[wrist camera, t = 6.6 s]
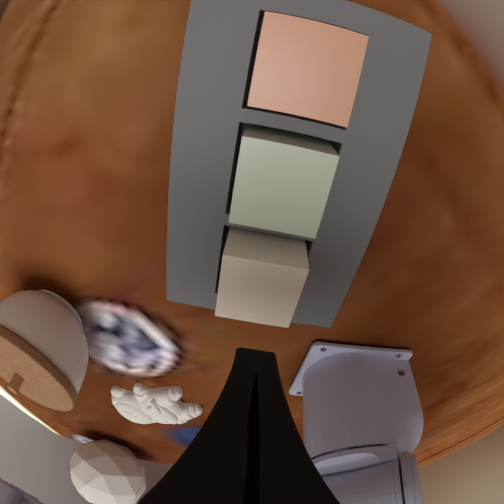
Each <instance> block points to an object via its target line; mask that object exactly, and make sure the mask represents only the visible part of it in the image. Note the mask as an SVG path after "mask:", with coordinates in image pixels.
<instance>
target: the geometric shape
mask: <svg viewBox="0 0 504 504" xmlns="http://www.w3.org/2000/svg"><path fill="white" fill-rule="evenodd" d="M70 472H71V478H72V482H73V484H74V486H75V487H76V489H77V491H78V492H79V493H80V494H81V495H82V496H83V497H84V498H85V499H86V500H87V501H88V502H91V503H93V504H135V503H136V502H137V500H138V499H139V498H140V496H141V495H142V493H143V492H144V490H145V489H146V483H145V476H144V467H143V465H142V464H141V463H140V462H139V460H138V459H137V458H136V457H135V456H134V454H133V453H132V452H131V451H130V450H129V448H128V447H126V446H123V445H120V444H117V443H114V442H112V441H109V440H107V439H101V440H97V441H92V442H88V443H83V444H82V445H81V446H80V447H79V448H78V449H77V450H76V451H75V452H74V454H73V456H72V458H71V466H70Z"/></svg>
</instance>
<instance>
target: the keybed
mask: <svg viewBox="0 0 504 504" xmlns="http://www.w3.org/2000/svg"><path fill="white" fill-rule="evenodd" d="M265 11H267V12H273V13H279V14H285V15H290V16H295V17H300V18H305V19H309V20H313V21H318V22H322V23H326V24H329V25H333V26H337V27H340V28H344V29H347V30H351V31H354V32H357V33H360V34H363V35H366V36H369V38H368V43H367V47H366V52H365V56H364V61H363V65H362V70H361V74H360V79H359V83H358V87H357V91H356V95H355V99H354V103H353V107H352V111H351V115H350V119H349V123H348V127H343V126H339V125H335V124H331V123H328V122H324V121H319V120H315V119H311V118H307V117H302V116H298V115H293V114H288V113H283V112H278V111H273V110H268V109H262V108H256V107H251V106H247V104H248V99H249V93H250V87H251V82H252V76H253V71H254V65H255V60H256V55H257V49H258V44H259V39H260V34H261V29H262V24H263V19H264V14H265ZM431 36H432V34H431V33H429V32H427V31H425V30H423V29H421V28H419V27H417V26H414V25H412V24H410V23H407V22H405V21H403V20H400V19H398V18H395V17H393V16H390V15H388V14H385V13H382V12H380V11H377V10H374V9H371V8H368V7H365V6H362V5H359V4H356V3H353V2H350V1H346V0H191V5H190V10H189V16H188V21H187V27H186V33H185V39H184V45H183V51H182V58H181V65H180V72H179V80H178V87H177V96H176V105H175V114H174V124H173V135H172V147H171V160H170V175H169V193H168V218H167V300H169V301H174V302H179V303H183V304H188V305H193V306H199V307H204V308H209V309H214V310H216V302H217V294H218V286H219V279H220V271H221V264H222V257H223V252H224V248H225V244H226V241H227V237H228V233H229V230H230V226H233V227H238V228H244V229H249V230H255V231H260V232H266V233H271V234H277V235H282V236H287V237H293V238H298V239H303V240H305V242H306V250H307V257H308V265H309V272H308V275H307V278H306V281H305V283H304V286H303V289H302V292H301V295H300V298H299V300H298V303H297V306H296V309H295V311H294V314H293V317H292V320H291V322H292V323H299V324H306V325H313V326H320V327H328V328H331V326H332V324H333V322H334V320H335V318H336V316H337V313H338V311H339V309H340V307H341V305H342V303H343V301H344V299H345V297H346V294H347V292H348V290H349V288H350V286H351V283H352V281H353V279H354V277H355V275H356V272H357V270H358V268H359V265H360V263H361V261H362V258H363V256H364V254H365V251H366V249H367V246H368V244H369V242H370V239H371V237H372V234H373V232H374V229H375V227H376V224H377V221H378V219H379V216H380V214H381V211H382V208H383V206H384V203H385V200H386V198H387V195H388V192H389V189H390V186H391V184H392V181H393V178H394V175H395V172H396V169H397V166H398V163H399V160H400V157H401V154H402V151H403V147H404V144H405V141H406V138H407V134H408V131H409V128H410V124H411V121H412V117H413V114H414V110H415V106H416V102H417V99H418V95H419V91H420V87H421V83H422V79H423V74H424V70H425V66H426V61H427V56H428V52H429V47H430V42H431ZM247 125H254V126H260V127H265V128H271V129H276V130H281V131H286V132H291V133H296V134H300V135H305V136H309V137H314V138H318V139H322V140H326V141H329V142H330V143H331V145H332V146H333V148H334V149H335V151H336V152H337V153H338V155H339V156H340V157H339V160H338V164H337V168H336V171H335V175H334V178H333V182H332V185H331V188H330V192H329V195H328V199H327V202H326V205H325V209H324V212H323V215H322V218H321V222H320V225H319V228H318V231H317V234H316V238H315V239H314V238H309V237H304V236H298V235H293V234H288V233H283V232H277V231H272V230H266V229H261V228H256V227H250V226H245V225H239V224H233V223H228V222H229V216H230V209H231V202H232V196H233V189H234V183H235V177H236V170H237V164H238V158H239V152H240V146H241V139H242V135H243V133H244V131H245V129H246V127H247Z"/></svg>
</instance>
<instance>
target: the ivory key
mask: <svg viewBox="0 0 504 504" xmlns="http://www.w3.org/2000/svg"><path fill="white" fill-rule="evenodd" d="M308 272H309V265H308V257H307V250H306V242H305V240H303V239H298V238H293V237H287V236H282V235H277V234H271V233H266V232H260V231H255V230H249V229H244V228H238V227H233V226H230V230H229V233H228V237H227V241H226V244H225V248H224V252H223V257H222V264H221V271H220V279H219V286H218V294H217V302H216V310H215V316H219V317H225V318H230V319H236V320H242V321H248V322H254V323H260V324H266V325H272V326H279V327H286V328H289V325H290V322H291V320H292V317H293V314H294V311H295V309H296V306H297V303H298V300H299V298H300V295H301V292H302V289H303V286H304V283H305V281H306V278H307V275H308Z"/></svg>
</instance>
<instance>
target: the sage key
mask: <svg viewBox="0 0 504 504" xmlns="http://www.w3.org/2000/svg"><path fill="white" fill-rule="evenodd" d="M339 157H340V156H339V155H338V153H337V152H336V151H335V149H334V148H333V146H332V145H331V143H330V142H329V141H326V140H322V139H318V138H314V137H309V136H305V135H300V134H296V133H291V132H286V131H281V130H276V129H271V128H265V127H260V126H254V125H247V127H246V129H245V131H244V133H243V135H242V139H241V146H240V152H239V158H238V164H237V170H236V177H235V183H234V189H233V196H232V202H231V209H230V216H229V222H228V223H233V224H239V225H245V226H250V227H256V228H261V229H266V230H272V231H277V232H283V233H288V234H293V235H298V236H304V237H309V238H314V239H315V238H316V234H317V231H318V228H319V225H320V222H321V218H322V215H323V212H324V209H325V205H326V202H327V199H328V195H329V192H330V188H331V185H332V182H333V178H334V175H335V171H336V168H337V164H338V160H339Z"/></svg>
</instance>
